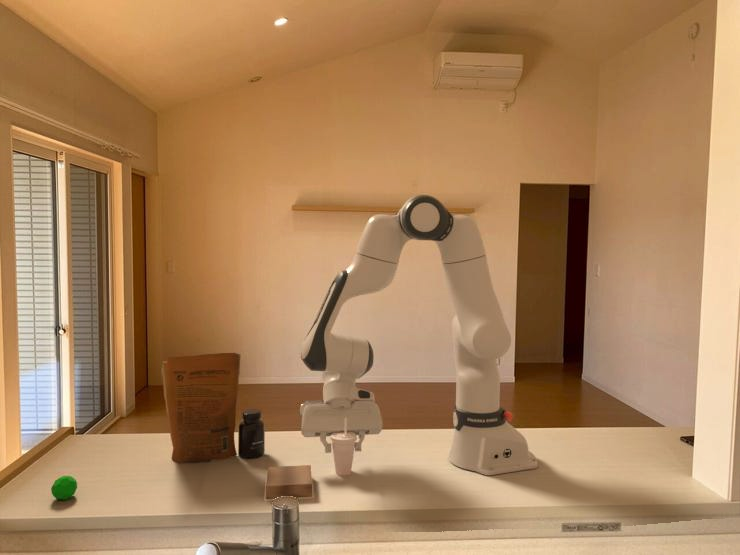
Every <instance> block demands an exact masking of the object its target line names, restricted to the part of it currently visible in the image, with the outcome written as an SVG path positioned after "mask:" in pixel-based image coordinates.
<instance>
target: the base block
mask: <svg viewBox="0 0 740 555" xmlns="http://www.w3.org/2000/svg"><path fill="white" fill-rule="evenodd" d="M266 472H267V473H266V474H267V476H266V479H267V481H266V480H265V484H266V499H275V498H277V497H281V496H293V497H296V498H301V497H312V477H311V476H312V465H310V464H306V465H305V464H304V465H303V464H302V465H287V466H286V465H285V466H284V465H283V466H268V467H267V471H266Z"/></svg>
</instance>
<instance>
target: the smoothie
mask: <svg viewBox="0 0 740 555" xmlns="http://www.w3.org/2000/svg"><path fill="white" fill-rule="evenodd" d="M357 436H358V435H356V434H355V433H353V432H350V431H347V418H345V431H338V432H334V433H332V434H331V436H330V441H331V447H332V453H333V462H334V470H335V474H336V475H338V476H348V475H351V474H352V467H353V462H354V461H353V460H354V454H355V442H356V441H357V440H358V438H357Z"/></svg>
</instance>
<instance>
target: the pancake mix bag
mask: <svg viewBox="0 0 740 555" xmlns="http://www.w3.org/2000/svg"><path fill="white" fill-rule="evenodd" d="M240 370H241V354H240V353H236V352H218V353H207V354H204V353H203V354H198V355H186V356H183V355H182V356H170V357H167V358H166V361H162V362H161V375H162V376H161V377H162V383H163V396H164V397H163V398H164V401H165V409H166V415H167V416H166V417H167V420H168V427H169V434H170V439H171V445H172V454H171V460H173V461H174V462H176V463H182V464H187V463H189V464H190V463H200V462H201V463H202V462H204V463H205V462H211V461H213V460H214V461H216V460H226V459H230V458H232V457H236V456H237V455H238V452H237V450H236V444H235V442H236V441H235V429H236V419H237V418H236V416H237V404H238V399H239V398H238V396H239V383H240V382H239V380H240V374H241V371H240Z"/></svg>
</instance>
